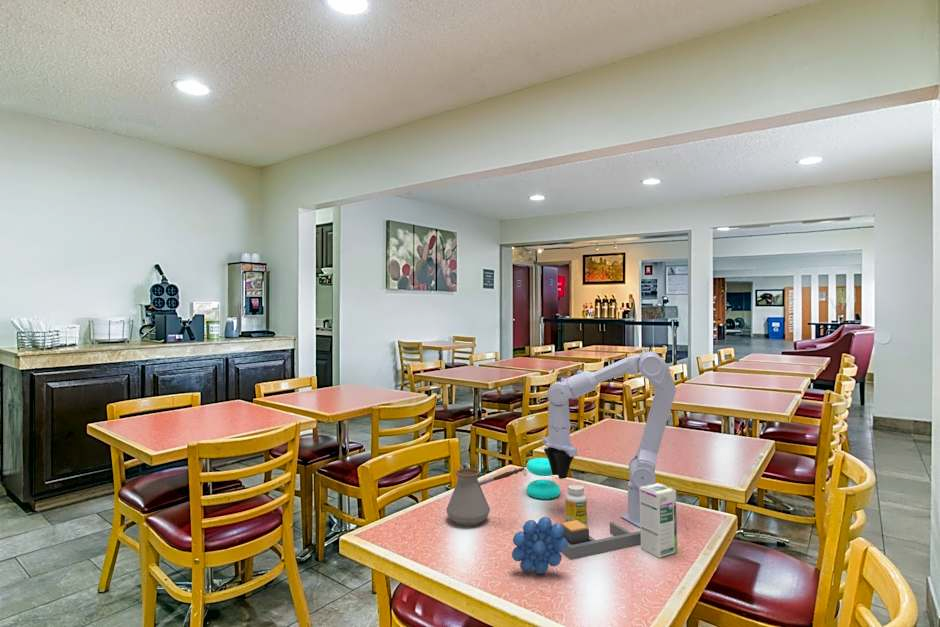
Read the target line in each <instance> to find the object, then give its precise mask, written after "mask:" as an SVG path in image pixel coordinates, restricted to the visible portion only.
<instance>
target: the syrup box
mask: <svg viewBox="0 0 940 627" xmlns="http://www.w3.org/2000/svg"><path fill="white" fill-rule="evenodd" d="M655 483H656V484H653V485H648V486H644V487H640V527H639V528H640V530H639V531H641V544H640V548H641V549H642V550H643V551H644V552H647V553H648V554H651V555H653V557H656V558H658V559H661V558H662V557H666V556H669V555H673V554H677V553H678V530H677V529H678V528H677V527H678V526H677V525H678V524H677V521H678V520H677V490H676V489H675V488H673V487H671V486H668V485H665V484H663V483H658V482H655Z"/></svg>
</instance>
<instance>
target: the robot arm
mask: <svg viewBox="0 0 940 627" xmlns="http://www.w3.org/2000/svg"><path fill="white" fill-rule="evenodd" d="M638 372H640V373H641V375H642V376H643V377H644V378H645V379H647V380H648V381H650V383H651V385H652V387H653V388H654V391H655V392H654V395H653V398H652V400H651V401H652V402H651V406H650V408H649V412H648V415H647V419H646V422H645V426H644V429H643V433H642V437H641V440H640V443H639V446H638V448H637V450H636V453H635V455H634V456H633V458H632V459H631V460H630V462H629V463H628V471H629V481H627V513H624V514H623V513H622V514H620V517H621V518H623V519H624V520H626V521H628V522H630V523H632V524H633V525H635V526H636V527H638V528H640V487H644V486H648V485H653V484H656V483H657V482H656V481H657V477H656V473H655V472H656V471H655V470H656V466H657V460H658V459H657V458H658V453H659V450H660V447H661V443H662V440H663V436H664V433H665V429H666V426H667V423H668V419H669V416H670V413H671V410H672V406H673V403H674V398H675V396H676V392H677V387H676V384H675V382H674V378H673V376H672V373H671V370H670V367H669V365H668V364H667V363H666V362H665V360H664V359H663V358H662V356H660V354H659V353H657V352H655V351H652V350H647V351H646V350H645V351H643V352H642V353H641V354H639V353H637V354H632V355H629V356H626V357H624V358H622V359H620V360H617V361H616V362H612V363H611V364H609V365H607V366H604V367H603V368H600V369H598V370H596V371H589V370H582V369H580V370H577V372H576V374H574V375H572V376H568V377H566V378H565V377H562V378H561V379H560V381H556V382H554V383H552V384H551V386H550V385H549V388H548V389H547V393H546V395H547V399H548V411H547V412H548V414H547V415H548V419H547V420H548V424H547V425H548V436H543V437H542V445H544V446H545V447H547V448H544V450H543V452H544V453H545V455H546V458H548V460H549V463H550V467H551V471H552V475H551V476H556V475H557V476H558V479H560V480H562V479H567V478H568V473H569V470H570V467H571V464H572V461H573V460H574V458H575V457H577V456H578V448H577V447H576V446H574V445H573V444H572V443H571V432H570V431H571V428H570V425H571V423H570V422H571V421H570V420H571V419H570V417H571V415H570V413H571V412H570V408H569V407H570V406H569V405H570V401H569V399H576V398H579V397H582V396H584V395H587V394H589V393H590V392H593V391H596V389H597V386H598V384H600V383H603V382H606V381H609V380H611V379H613V378H616V377H619V376H622V375H625V374H629V375H630V374H631V375H634V376H636V375H637V376H638Z"/></svg>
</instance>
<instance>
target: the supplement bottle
mask: <svg viewBox="0 0 940 627" xmlns="http://www.w3.org/2000/svg"><path fill="white" fill-rule="evenodd" d="M567 492H568V493H567V494H566V495H565V522H569V521H574V520H578V521H579V522H581V523H582V524H584V525H585V526H587V523H588V519H587V517H588V514H587V512H588V511H587V509H588V508H587V507H588V506H587V504H588V503H587V502H588V500H587V496H586V494H584V493H585V488H584V486H583V485H581V484H578V483H576V484H575V483H573V484H569V485H568V486H567Z"/></svg>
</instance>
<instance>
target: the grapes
mask: <svg viewBox="0 0 940 627" xmlns="http://www.w3.org/2000/svg"><path fill="white" fill-rule="evenodd" d="M552 522H553V521H552V520H551V518H550V517H548V516H543V517H540V518H539V519H538V521H535V520H533V519H528V520H527V521H525V522H524V524H523V526H522V531H518V532H515V533H514V535H513V537H512V542H513V544H514V545H515V547H514V548H513V550H512V552H511V558H512V559H513V560H514V562H515V561H516V562H520V563H519V568H520V569H521V571H522V572H523V573H530V572H531V571H532V570H534V571H535V573H536V574H538V575H543V574H545V573H546V572H547V571H548V569H549V566H551V567H557V566H558V565H560V564H561V561H562V560H563V559H562V557H563V556H562V554H561V553H562V552H563V551H565V550H566V548H567V546H568V542H567V540H566V539H565V538H564V537H561V536H562V535H563V532H564V528H563V526H562V525H561V523H554V524H553V523H552Z"/></svg>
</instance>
